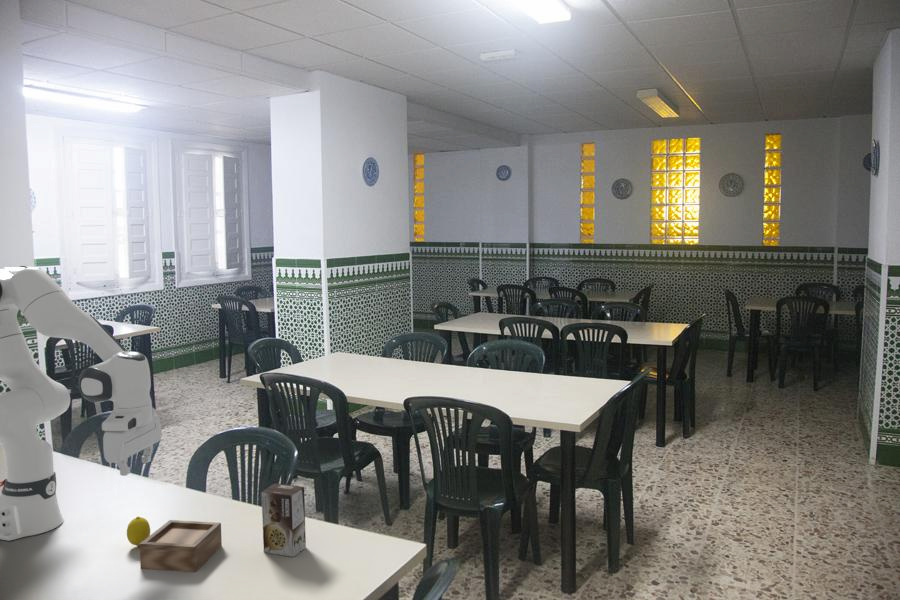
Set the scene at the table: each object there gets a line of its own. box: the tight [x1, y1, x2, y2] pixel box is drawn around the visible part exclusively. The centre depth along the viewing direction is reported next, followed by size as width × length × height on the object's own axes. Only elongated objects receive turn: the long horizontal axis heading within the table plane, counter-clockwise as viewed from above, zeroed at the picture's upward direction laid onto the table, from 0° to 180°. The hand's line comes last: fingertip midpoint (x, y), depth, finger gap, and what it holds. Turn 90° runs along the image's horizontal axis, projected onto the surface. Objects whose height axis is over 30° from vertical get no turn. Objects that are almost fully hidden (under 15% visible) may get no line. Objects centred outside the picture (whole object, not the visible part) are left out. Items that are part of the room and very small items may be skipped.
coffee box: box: [260, 483, 307, 558], centre depth 177 cm, size 9×6×16 cm
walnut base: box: [139, 519, 223, 573], centre depth 173 cm, size 14×14×6 cm
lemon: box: [126, 516, 151, 548], centre depth 179 cm, size 6×6×8 cm
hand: (136, 468), depth 177 cm, fingers open, 8 cm apart
